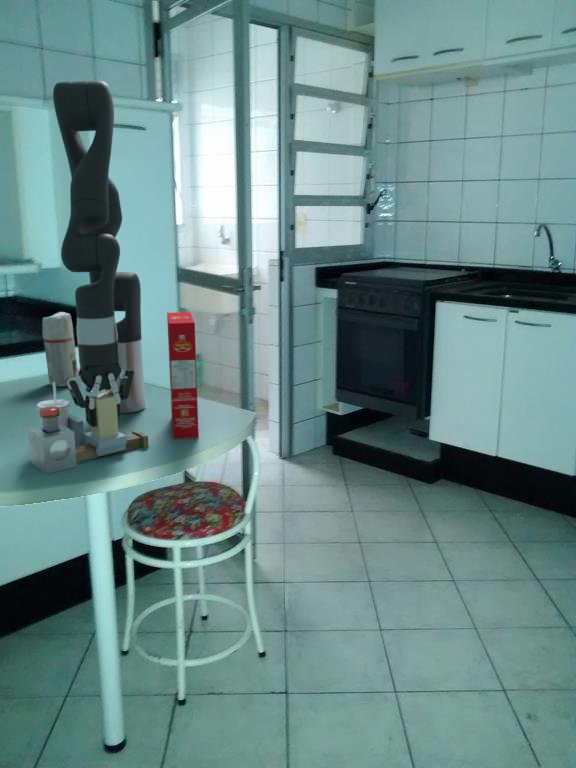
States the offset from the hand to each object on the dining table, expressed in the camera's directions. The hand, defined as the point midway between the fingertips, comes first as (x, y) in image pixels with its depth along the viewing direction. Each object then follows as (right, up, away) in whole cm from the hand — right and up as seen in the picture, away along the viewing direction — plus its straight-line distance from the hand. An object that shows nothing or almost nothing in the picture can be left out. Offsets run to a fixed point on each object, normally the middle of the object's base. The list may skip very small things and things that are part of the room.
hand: (103, 422), depth 138 cm
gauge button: (-8, -4, -6) cm, 11 cm away
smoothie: (-11, -6, +4) cm, 13 cm away
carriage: (-3, -5, +4) cm, 7 cm away
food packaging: (+14, -2, +17) cm, 22 cm away
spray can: (-26, +8, +55) cm, 61 cm away
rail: (0, -6, +1) cm, 6 cm away
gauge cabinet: (-8, -8, -5) cm, 12 cm away
